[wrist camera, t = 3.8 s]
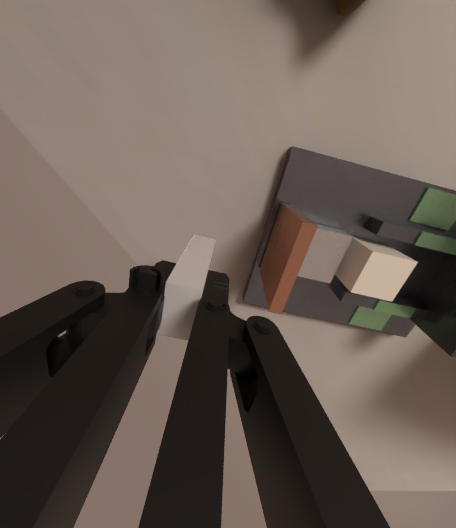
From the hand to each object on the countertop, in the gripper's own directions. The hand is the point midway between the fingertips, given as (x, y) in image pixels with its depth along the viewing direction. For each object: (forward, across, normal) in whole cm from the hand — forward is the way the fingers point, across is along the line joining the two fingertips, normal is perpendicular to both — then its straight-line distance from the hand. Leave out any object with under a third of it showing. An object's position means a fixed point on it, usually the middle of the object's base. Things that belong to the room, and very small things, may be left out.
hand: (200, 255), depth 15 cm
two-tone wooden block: (+7, +9, 0) cm, 11 cm away
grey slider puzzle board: (+9, +15, 0) cm, 17 cm away
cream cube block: (+7, +15, 0) cm, 17 cm away
